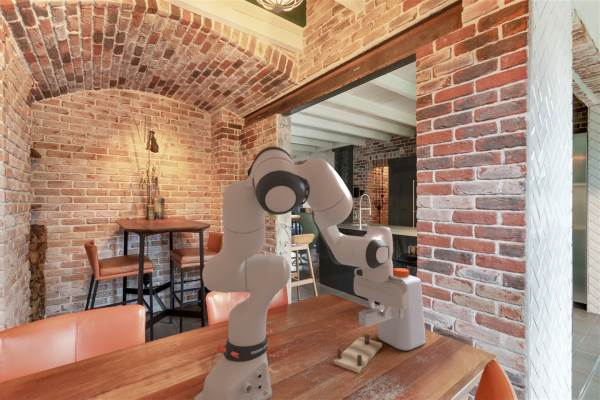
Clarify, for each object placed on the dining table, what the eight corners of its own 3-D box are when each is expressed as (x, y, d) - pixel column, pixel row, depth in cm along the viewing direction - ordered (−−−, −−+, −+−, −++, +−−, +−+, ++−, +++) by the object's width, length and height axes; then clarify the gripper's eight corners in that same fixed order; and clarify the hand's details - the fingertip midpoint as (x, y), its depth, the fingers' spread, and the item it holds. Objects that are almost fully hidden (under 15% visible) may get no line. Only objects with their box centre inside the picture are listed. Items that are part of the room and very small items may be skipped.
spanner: (369, 329, 89) (369, 316, 89) (355, 322, 94) (355, 310, 94) (407, 315, 101) (407, 304, 101) (392, 310, 106) (392, 299, 106)
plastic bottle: (398, 328, 124) (397, 263, 125) (430, 343, 112) (429, 270, 112) (373, 337, 116) (372, 268, 116) (404, 354, 104) (404, 276, 104)
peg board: (358, 373, 92) (358, 359, 92) (333, 363, 98) (333, 351, 98) (381, 346, 109) (381, 335, 109) (359, 339, 115) (359, 329, 115)
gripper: (412, 278, 90) (412, 322, 90) (362, 266, 107) (362, 304, 107) (400, 281, 87) (400, 327, 86) (350, 269, 103) (350, 307, 103)
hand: (379, 314), depth 97 cm, fingers closed on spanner, 3 cm apart
